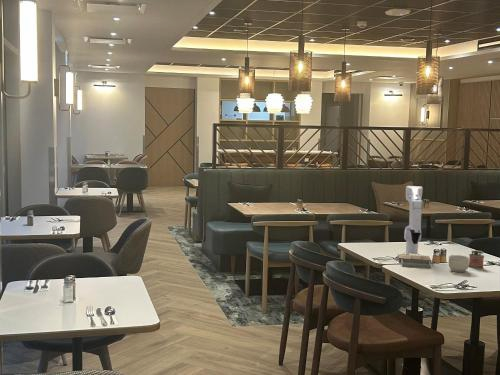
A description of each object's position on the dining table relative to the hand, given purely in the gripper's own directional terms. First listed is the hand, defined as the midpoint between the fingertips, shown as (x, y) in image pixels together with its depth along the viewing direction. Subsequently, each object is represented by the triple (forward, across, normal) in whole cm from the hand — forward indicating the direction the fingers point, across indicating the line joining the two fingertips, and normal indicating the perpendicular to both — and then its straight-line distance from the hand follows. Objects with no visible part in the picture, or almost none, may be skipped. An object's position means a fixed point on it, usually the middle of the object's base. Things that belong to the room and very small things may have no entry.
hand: (414, 242), depth 359 cm
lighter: (+11, +8, +34) cm, 37 cm away
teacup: (+11, +19, +22) cm, 31 cm away
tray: (+11, +15, 0) cm, 18 cm away
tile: (+8, +6, 0) cm, 10 cm away
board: (+10, +3, 0) cm, 11 cm away
